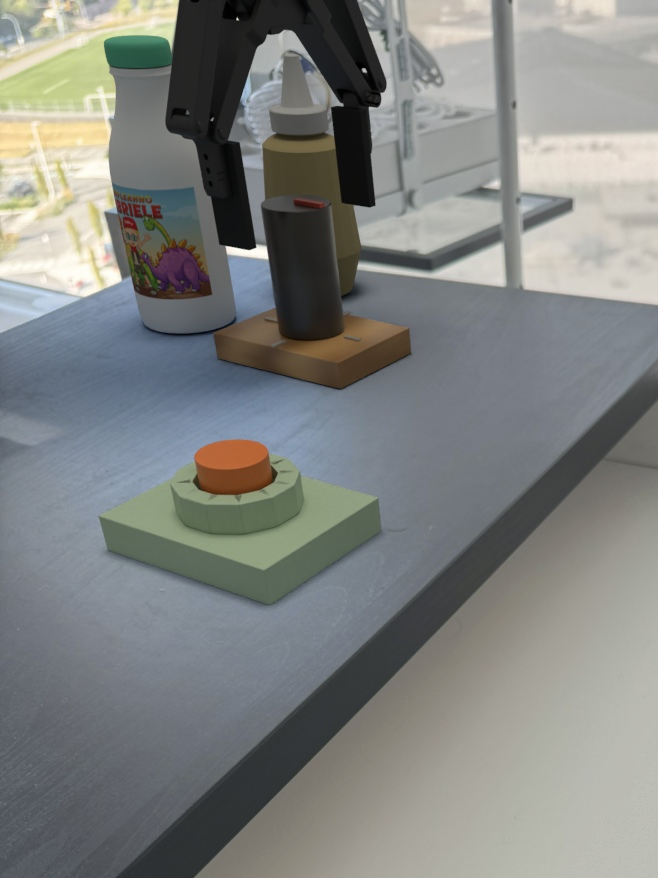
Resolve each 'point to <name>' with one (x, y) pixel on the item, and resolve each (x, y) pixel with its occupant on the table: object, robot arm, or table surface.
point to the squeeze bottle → (309, 163)
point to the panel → (314, 349)
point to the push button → (233, 467)
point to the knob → (303, 266)
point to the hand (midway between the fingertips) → (301, 224)
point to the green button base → (244, 530)
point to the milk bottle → (163, 198)
